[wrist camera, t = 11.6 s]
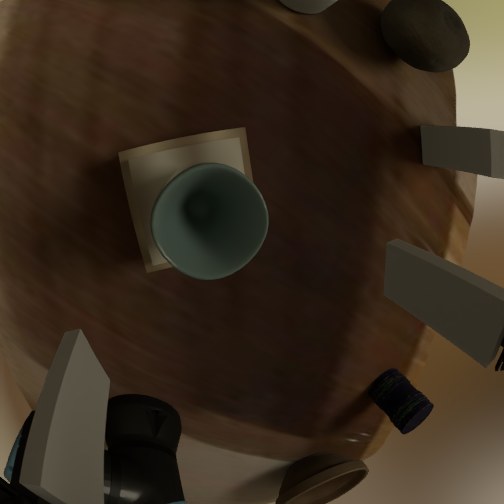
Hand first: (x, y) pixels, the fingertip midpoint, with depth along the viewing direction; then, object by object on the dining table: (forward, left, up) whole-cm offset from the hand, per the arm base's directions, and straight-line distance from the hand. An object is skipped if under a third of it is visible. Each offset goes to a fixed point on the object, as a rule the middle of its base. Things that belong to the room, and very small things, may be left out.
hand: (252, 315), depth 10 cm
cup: (0, +1, -19) cm, 19 cm away
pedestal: (0, +2, -25) cm, 25 cm away
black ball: (+36, +24, -25) cm, 50 cm away
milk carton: (+43, +5, -25) cm, 50 cm away
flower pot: (+14, -79, -25) cm, 84 cm away
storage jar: (+35, -50, -25) cm, 66 cm away
